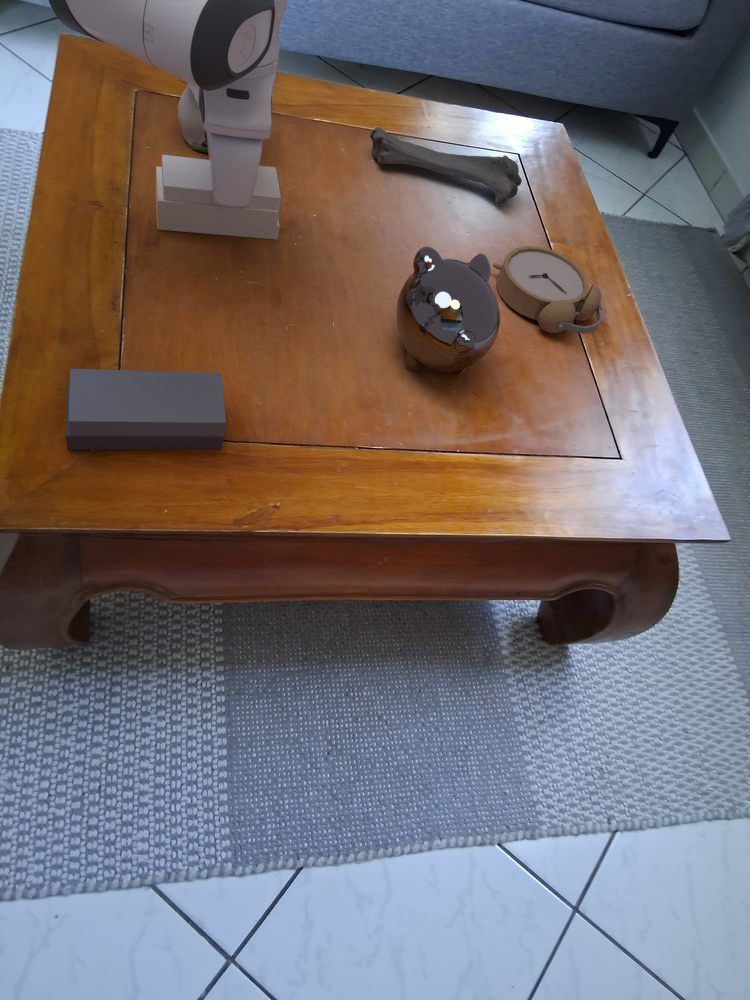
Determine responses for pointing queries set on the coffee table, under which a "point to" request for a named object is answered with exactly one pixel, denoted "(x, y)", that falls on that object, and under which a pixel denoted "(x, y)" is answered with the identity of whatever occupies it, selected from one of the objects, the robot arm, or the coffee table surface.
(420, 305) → the piggy bank
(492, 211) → the coffee table surface
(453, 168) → the bone
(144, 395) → the dark grey box
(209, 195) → the pale grey rectangular block
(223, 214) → the grey oblong block
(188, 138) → the decorative ornament
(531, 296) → the alarm clock
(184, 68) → the robot arm
